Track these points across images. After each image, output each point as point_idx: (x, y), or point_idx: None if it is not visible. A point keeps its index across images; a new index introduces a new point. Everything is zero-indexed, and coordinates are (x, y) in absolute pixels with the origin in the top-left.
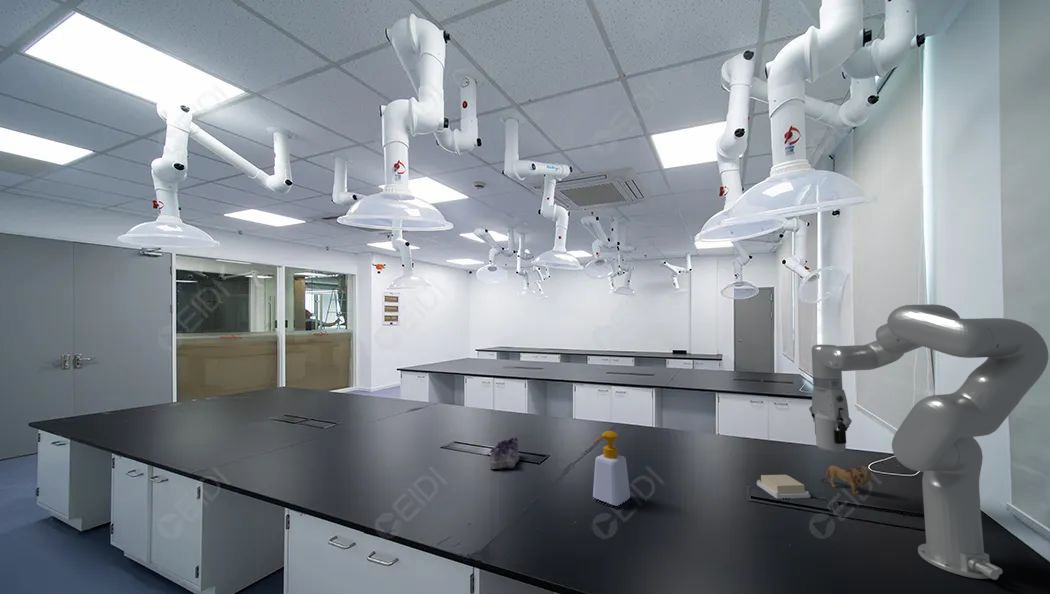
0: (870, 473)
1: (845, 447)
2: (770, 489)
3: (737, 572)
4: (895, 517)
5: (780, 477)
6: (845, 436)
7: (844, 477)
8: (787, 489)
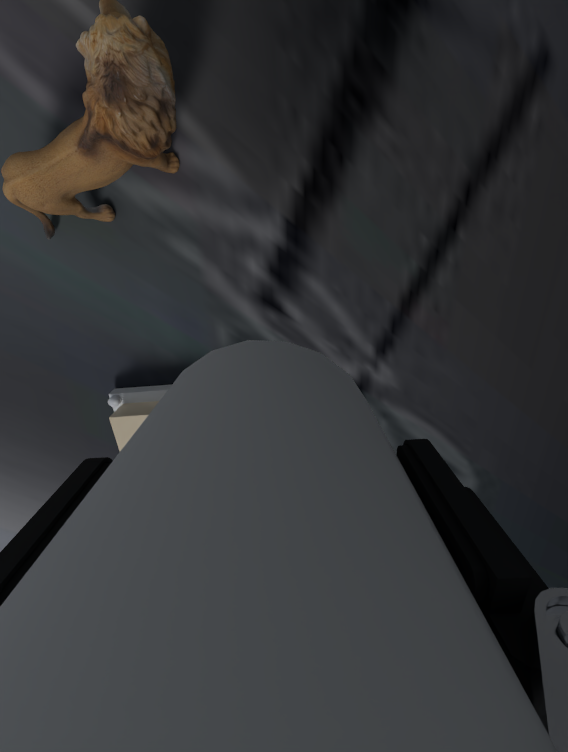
0: (152, 32)
1: (350, 380)
2: None
3: None
4: (395, 169)
5: None
6: (465, 497)
7: (113, 178)
8: None
